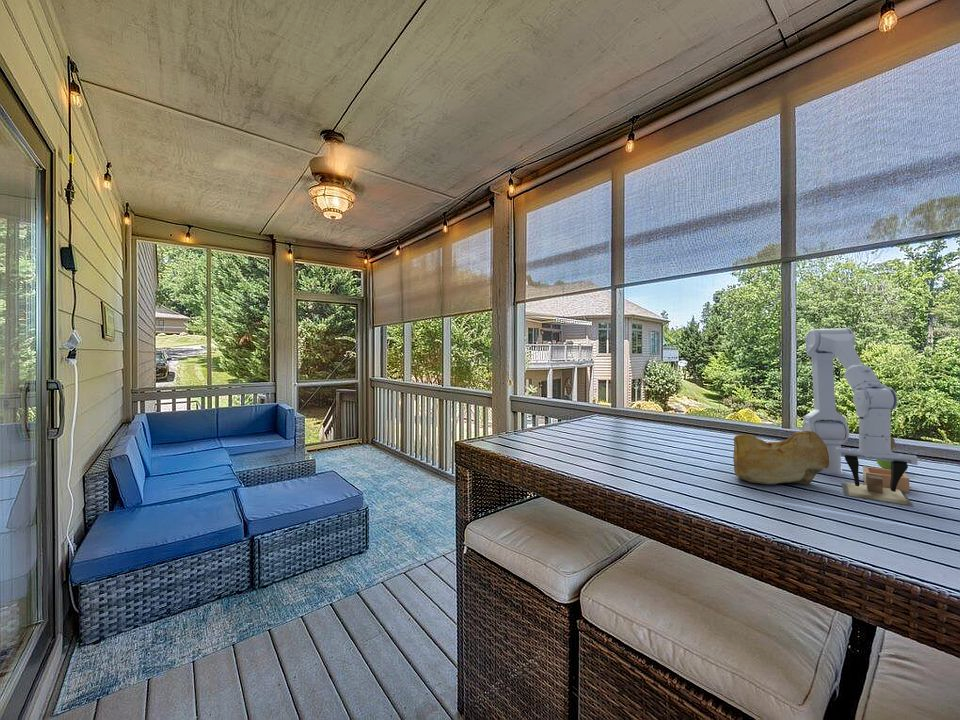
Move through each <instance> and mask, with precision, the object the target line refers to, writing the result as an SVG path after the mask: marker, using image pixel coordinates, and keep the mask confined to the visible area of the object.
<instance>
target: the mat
mask: <svg viewBox="0 0 960 720" xmlns="http://www.w3.org/2000/svg"><path fill="white" fill-rule="evenodd" d="M840 484H841V488H842V492H843V496H844V497H850V498H857V499H861V500H862V499H863V500H868V501H874V502H881V503H889V504H893V505H900V506H906V507H911V508H914V507H915V506H914V504H913V503H912V501H911V500H910V499H909V497H908V495H907V494H906V492H902V491H901V493H902V494H903V496H904V497H905V499H906V500H907V504H901V503H894V502H888V501H882V500H876V499H869V498H863V497H857V496H851V495H849V492H848V489H847V485H846V483H840Z"/></svg>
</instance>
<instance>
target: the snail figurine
mask: <svg viewBox="0 0 960 720" xmlns="http://www.w3.org/2000/svg"><path fill="white" fill-rule="evenodd" d="M895 447H896V441H895V439H894V436H893V437H892V436H891V452H893V453H894V449H895ZM890 462H891V461H883V460H876V463H877V464H878V466H879V468H881V469H889V470H891V464H890Z"/></svg>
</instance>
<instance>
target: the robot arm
mask: <svg viewBox="0 0 960 720" xmlns="http://www.w3.org/2000/svg"><path fill="white" fill-rule="evenodd" d="M855 342H856V336H855V333H854V331H853V330H852V329H851V328H850V327H844V328H820V329H819V328H811V329H810V330H808V331H807V335H805V342H804V343H805V352H806V356H808V357H810V358H811V370H812V371H811V373H812V388H813V389H812V390H813V391H812V392H813V410H811V411H810V412H809V413H807V414H805V415H804V416H803V422H802V427H801V430H802V431H801V432H803V431H813V432H815V433H816V434H818V435H819V437H820V439H821V440H823V441H824V442H825V445H826V447H827V451H828V455H829V466H828V468H824V469H823V470H822V471H820V472H819V473H821V474H822V473H823V474H830V475H838V476H844V472H843V468H842V457H844V459H845V461H846V463H847V466H848V467H849V469H850V471H851V473H852V476H853V480H854V483H855V486H859V484H860V477H859V468H860V467H859V465H860V461H859V459H867V460H874V461H875V460H883V461H891V462H890V464H891V481H890V489H891V491H893V492H896V487H897V484H898V482H899V480H900V478H901V476H902V475H903V474H904V472H905V473H906V472H907V470H908V467H909V465H908V464H910V465H915V466H918V456H917V455H914V454H907V453H906V454H904V453H898V452H894V451H893V452H891V437H892V436H891V434H892V433H891V430H892V429H891V426H892V425H891V421H892V420H891V419H892V418H891V415H892V414H891V411H893V410H895V409H896V408H897V405H898V396H897V393H896V392H895V389H894V388H892V387H889V386H887V385H886V384H882V383H881V381H880V379H879V377H877V375H876V374H875V371H874V370H873V369H872V368H871V366H869V365H865V364H863V363H862V360H861V358H860V357H859V355H858V353H857V351H856V348H855ZM835 358H837V360H838V361H839V362H840V364H841V365H842V366H843V368H844V369H845V371H844V374H843V377H844V378H845V380H846V382H847V383H848V385H849V386H850V388H851V390H852V391H853V393H854V394H853V396H852V401H853V406H855V413H856V416H857V417H858V448H850V447H842V445H845V443H844V442H846V441H847V440H848V439H849V438H850V428H849V426H848V424H847V418H846V417H845V416H844V415H842V414H841V413H839V412H837V409H836V407H837V406H836V393H835V392H836V391H835V378H834V360H835Z"/></svg>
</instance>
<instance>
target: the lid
mask: <svg viewBox="0 0 960 720" xmlns="http://www.w3.org/2000/svg"><path fill="white" fill-rule="evenodd" d="M845 484H846V485H847V489H848V492H849V495H851V496H857V497H863V498H869V499H876V500H882V501H888V502H894V503H901V504H907V500H906V499H905V497H904V496H903V494H902V493H901V492H902V491H900V490H897V489H896V492H893V491H891V489H890V488H884V487H883V479H882V478H881V477H877V476H869V475H867V485H865V484H862V483H859V486H855V482H850V481H849V482H848V481H847V482H845Z"/></svg>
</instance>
